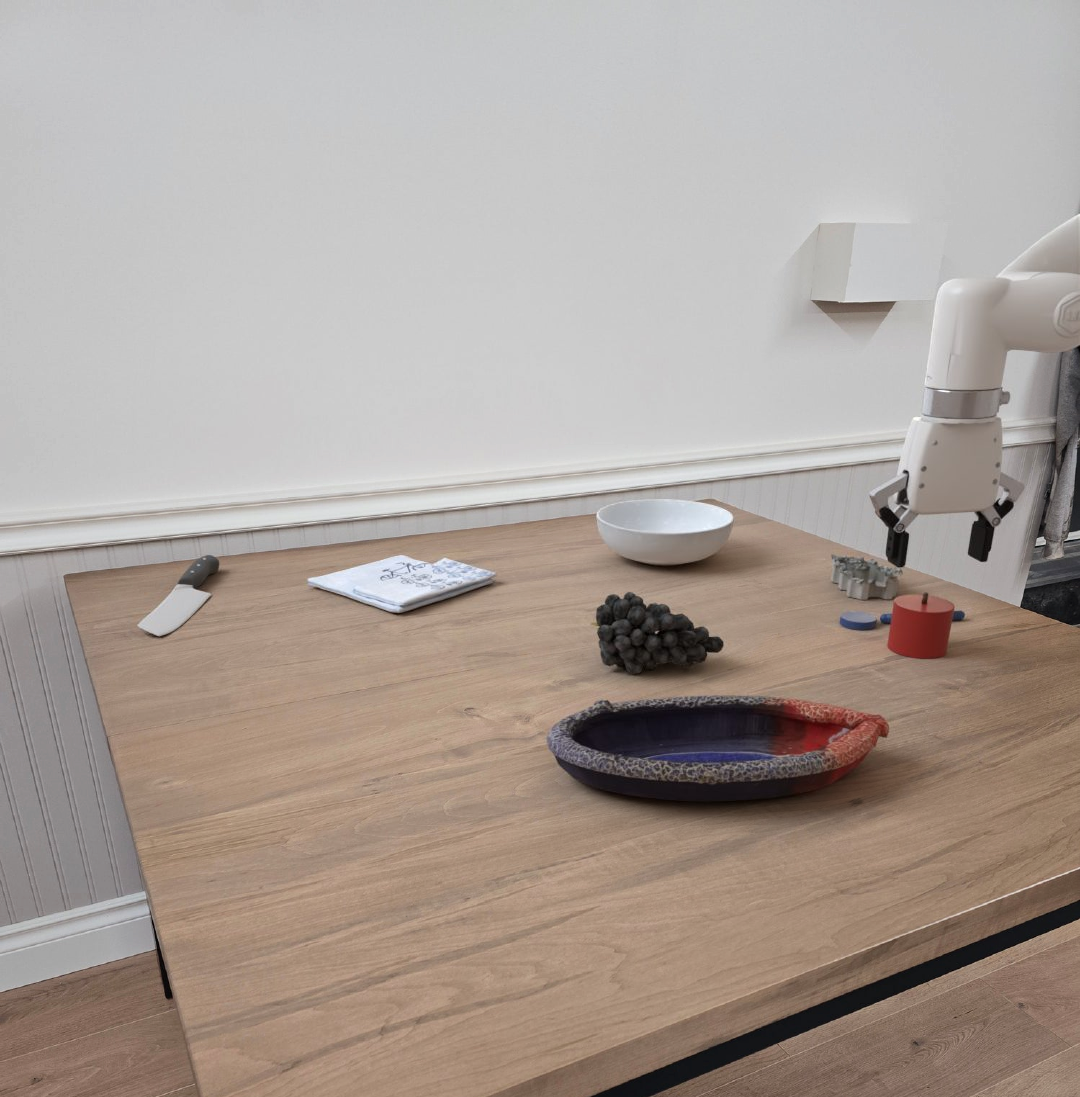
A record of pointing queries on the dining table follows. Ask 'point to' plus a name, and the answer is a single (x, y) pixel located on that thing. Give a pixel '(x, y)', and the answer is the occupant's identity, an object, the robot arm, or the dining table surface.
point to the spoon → (874, 619)
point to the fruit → (649, 635)
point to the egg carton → (864, 578)
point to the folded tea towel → (404, 582)
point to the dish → (713, 746)
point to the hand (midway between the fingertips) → (936, 561)
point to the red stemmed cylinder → (920, 626)
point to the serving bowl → (664, 530)
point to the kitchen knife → (181, 599)
